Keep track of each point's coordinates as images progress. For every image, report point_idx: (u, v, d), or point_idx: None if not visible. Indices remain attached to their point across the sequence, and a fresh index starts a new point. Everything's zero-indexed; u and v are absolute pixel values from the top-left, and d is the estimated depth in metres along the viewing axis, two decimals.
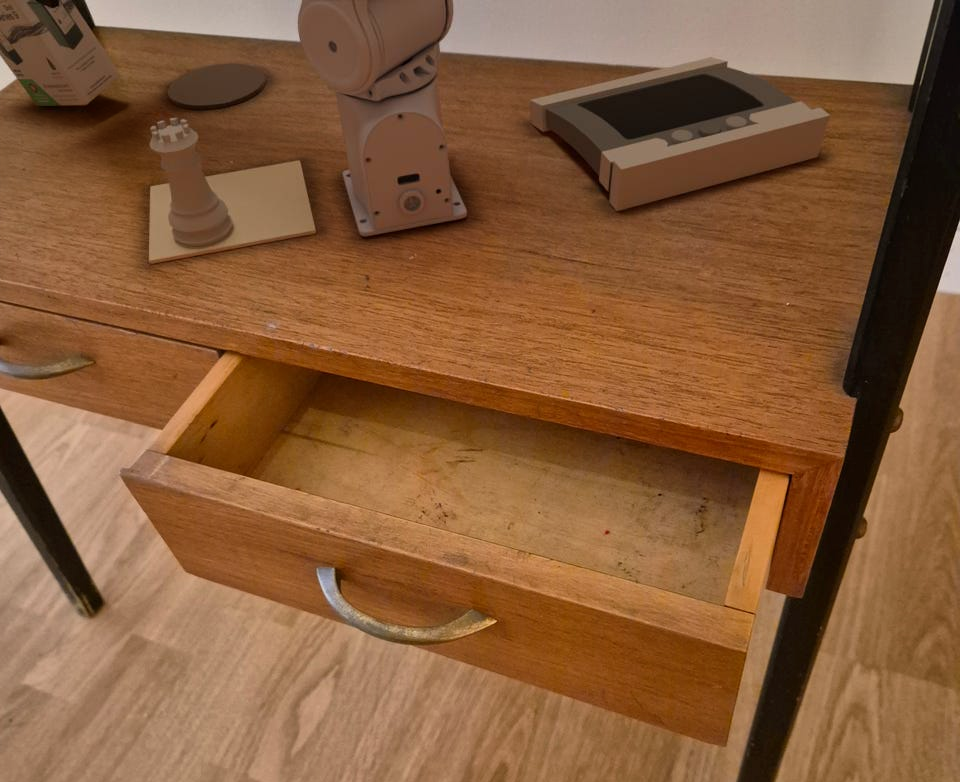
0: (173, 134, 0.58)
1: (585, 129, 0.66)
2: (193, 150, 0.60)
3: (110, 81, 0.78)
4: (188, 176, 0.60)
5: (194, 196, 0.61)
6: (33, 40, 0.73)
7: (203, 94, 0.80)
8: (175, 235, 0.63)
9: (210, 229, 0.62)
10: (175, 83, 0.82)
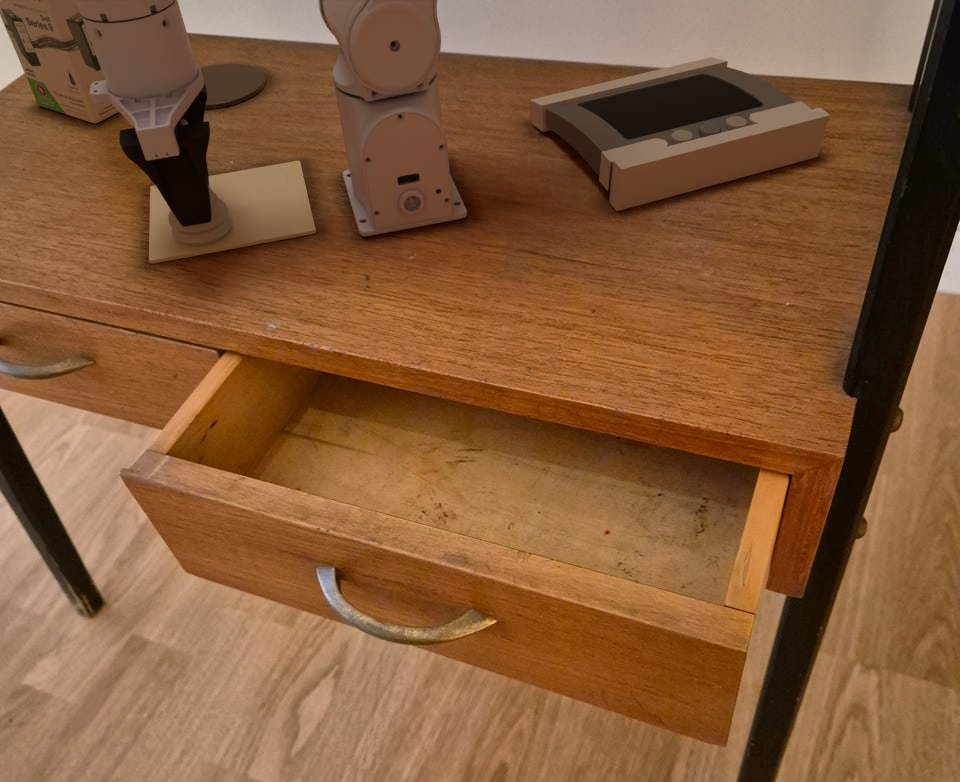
0: None
1: (585, 129, 0.66)
2: None
3: None
4: None
5: None
6: (61, 54, 0.74)
7: None
8: (175, 235, 0.63)
9: (210, 229, 0.62)
10: None
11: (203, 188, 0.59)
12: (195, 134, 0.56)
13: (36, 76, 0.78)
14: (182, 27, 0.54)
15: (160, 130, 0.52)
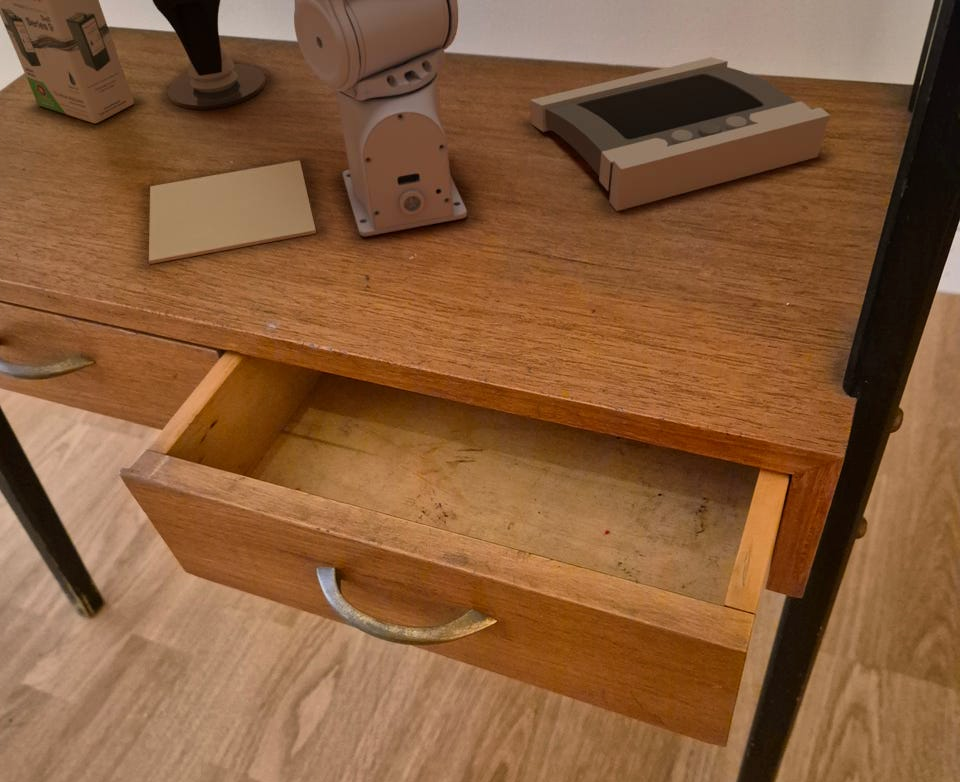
0: None
1: (585, 129, 0.66)
2: None
3: (123, 106, 0.80)
4: None
5: None
6: (61, 54, 0.74)
7: (203, 94, 0.80)
8: (193, 84, 0.81)
9: (220, 78, 0.80)
10: (175, 83, 0.82)
11: (215, 41, 0.75)
12: None
13: (36, 76, 0.78)
14: None
15: None
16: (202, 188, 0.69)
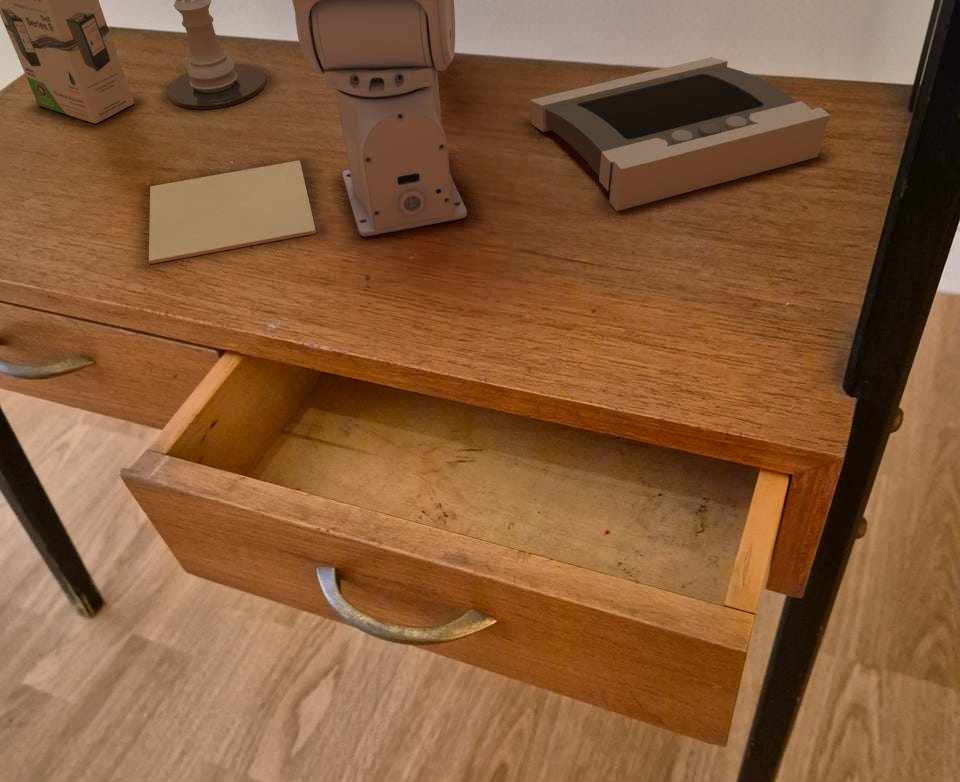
0: None
1: (585, 129, 0.66)
2: (207, 11, 0.77)
3: (123, 106, 0.80)
4: (203, 32, 0.77)
5: (207, 49, 0.78)
6: (61, 54, 0.74)
7: (203, 94, 0.80)
8: (193, 84, 0.81)
9: (220, 78, 0.80)
10: (175, 83, 0.82)
11: None
12: None
13: (36, 76, 0.78)
14: None
15: None
16: (202, 188, 0.69)
